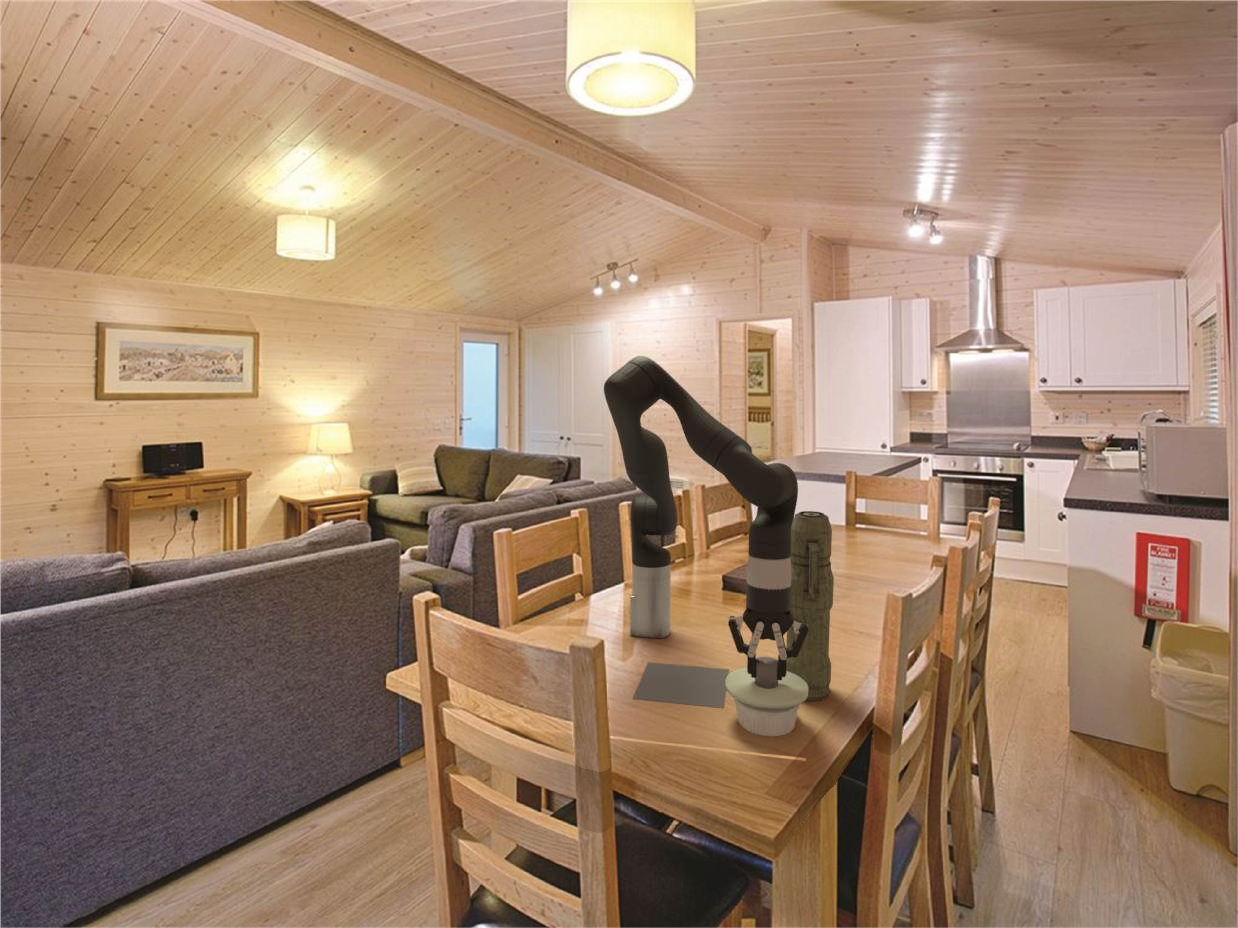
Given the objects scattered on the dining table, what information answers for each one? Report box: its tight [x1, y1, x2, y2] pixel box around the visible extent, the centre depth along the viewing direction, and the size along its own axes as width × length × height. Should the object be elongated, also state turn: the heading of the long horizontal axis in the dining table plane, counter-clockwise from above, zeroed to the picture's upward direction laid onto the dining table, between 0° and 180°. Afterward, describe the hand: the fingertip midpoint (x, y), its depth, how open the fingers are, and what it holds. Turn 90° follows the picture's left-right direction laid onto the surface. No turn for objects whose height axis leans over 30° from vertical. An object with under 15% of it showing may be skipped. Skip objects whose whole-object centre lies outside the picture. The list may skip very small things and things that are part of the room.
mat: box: [632, 661, 730, 709], centre depth 129 cm, size 17×17×1 cm
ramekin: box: [733, 698, 800, 737], centre depth 113 cm, size 11×11×5 cm
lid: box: [725, 656, 808, 709], centre depth 112 cm, size 14×14×5 cm
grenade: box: [785, 510, 835, 702], centre depth 124 cm, size 9×12×35 cm
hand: (766, 676), depth 113 cm, fingers closed on lid, 4 cm apart
